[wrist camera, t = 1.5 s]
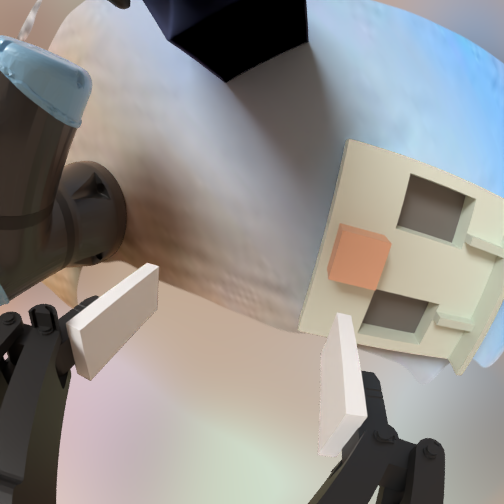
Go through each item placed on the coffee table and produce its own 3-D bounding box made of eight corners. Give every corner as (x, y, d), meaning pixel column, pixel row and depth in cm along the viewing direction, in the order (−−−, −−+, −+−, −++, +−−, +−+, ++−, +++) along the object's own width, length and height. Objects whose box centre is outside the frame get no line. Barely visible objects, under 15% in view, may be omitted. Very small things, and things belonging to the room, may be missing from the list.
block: (326, 267, 30) (328, 279, 27) (339, 223, 28) (342, 230, 26) (370, 278, 30) (375, 290, 27) (384, 235, 28) (391, 243, 25)
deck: (299, 317, 36) (295, 348, 30) (345, 140, 28) (354, 136, 22) (446, 347, 33) (461, 375, 27) (504, 201, 26) (533, 211, 20)
